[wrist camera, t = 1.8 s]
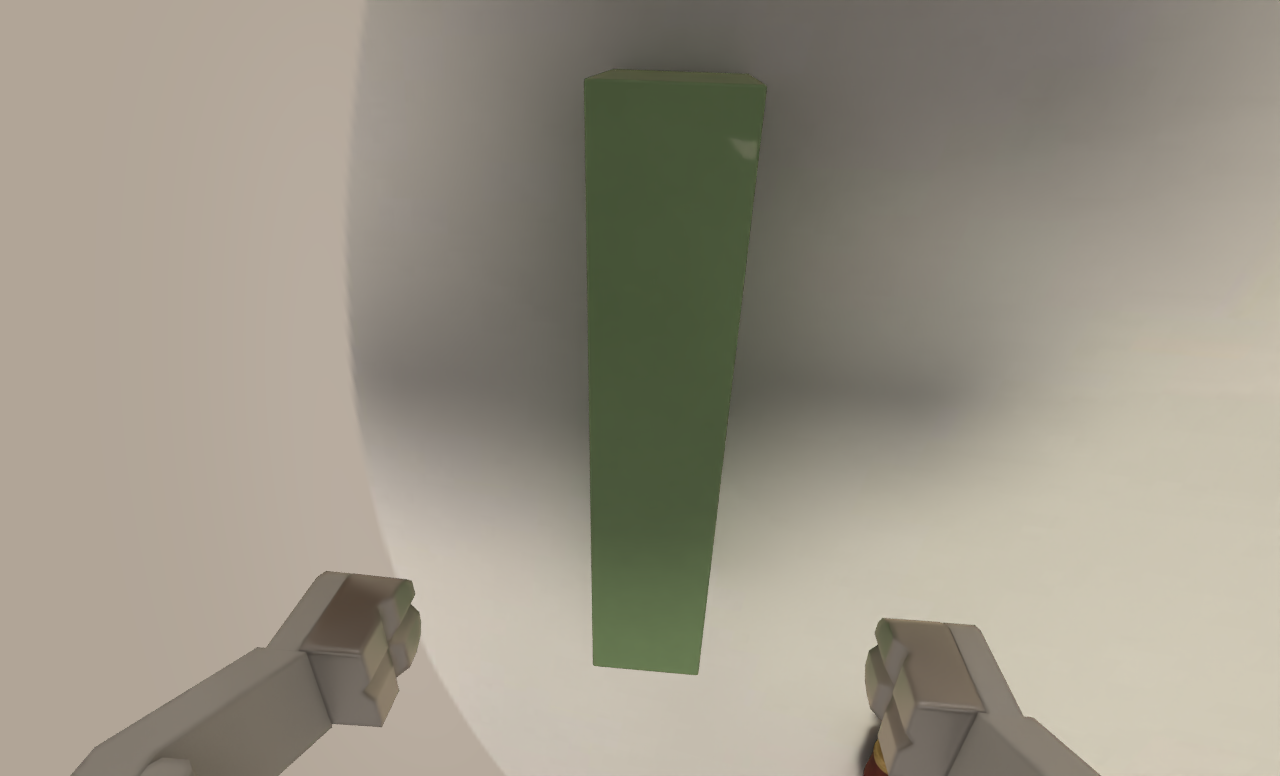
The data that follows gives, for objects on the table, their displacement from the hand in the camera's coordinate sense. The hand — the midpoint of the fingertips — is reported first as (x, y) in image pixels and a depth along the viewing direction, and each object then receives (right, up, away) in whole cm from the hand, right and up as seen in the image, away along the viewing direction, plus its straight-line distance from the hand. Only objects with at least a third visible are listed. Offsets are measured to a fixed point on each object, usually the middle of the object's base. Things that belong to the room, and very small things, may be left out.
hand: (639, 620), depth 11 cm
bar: (+1, +4, +7) cm, 9 cm away
